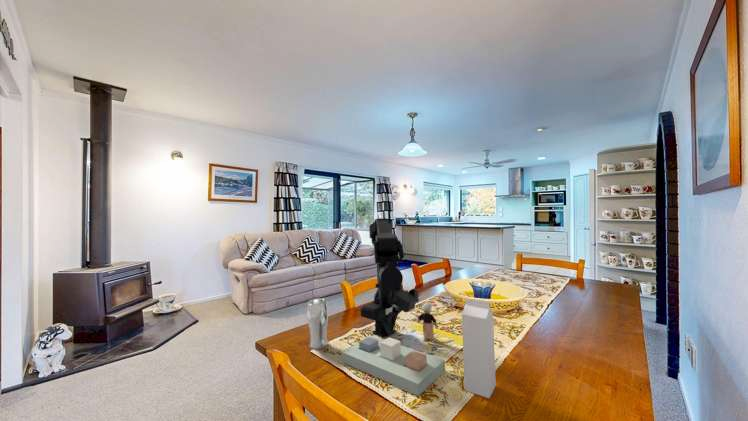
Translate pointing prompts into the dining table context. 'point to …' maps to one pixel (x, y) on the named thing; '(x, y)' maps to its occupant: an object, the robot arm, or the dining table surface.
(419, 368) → the terracotta key
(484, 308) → the milk
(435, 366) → the console
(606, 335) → the dining table surface
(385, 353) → the light grey cube
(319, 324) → the beer glass
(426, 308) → the grandmother figurine
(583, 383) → the dining table surface
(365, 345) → the slate key
